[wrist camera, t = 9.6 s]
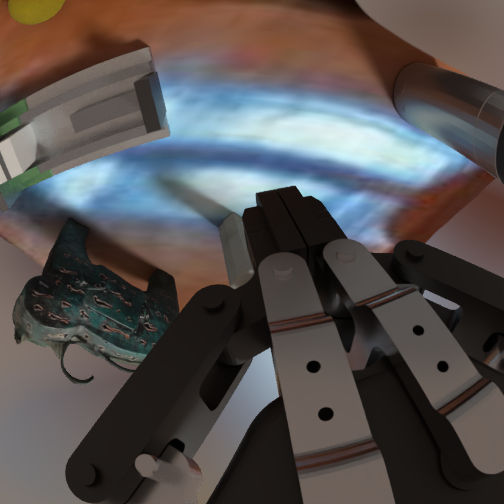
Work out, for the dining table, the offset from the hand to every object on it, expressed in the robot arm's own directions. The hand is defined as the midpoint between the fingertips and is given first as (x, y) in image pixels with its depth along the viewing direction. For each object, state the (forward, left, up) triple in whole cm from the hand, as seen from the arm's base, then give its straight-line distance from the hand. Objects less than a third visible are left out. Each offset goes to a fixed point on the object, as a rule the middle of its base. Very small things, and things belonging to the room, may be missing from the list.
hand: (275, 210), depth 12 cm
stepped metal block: (+10, -3, -21) cm, 24 cm away
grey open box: (+16, -3, -23) cm, 28 cm away
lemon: (+15, -17, -23) cm, 33 cm away
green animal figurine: (+17, +16, -23) cm, 33 cm away
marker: (+22, -3, -22) cm, 31 cm away
